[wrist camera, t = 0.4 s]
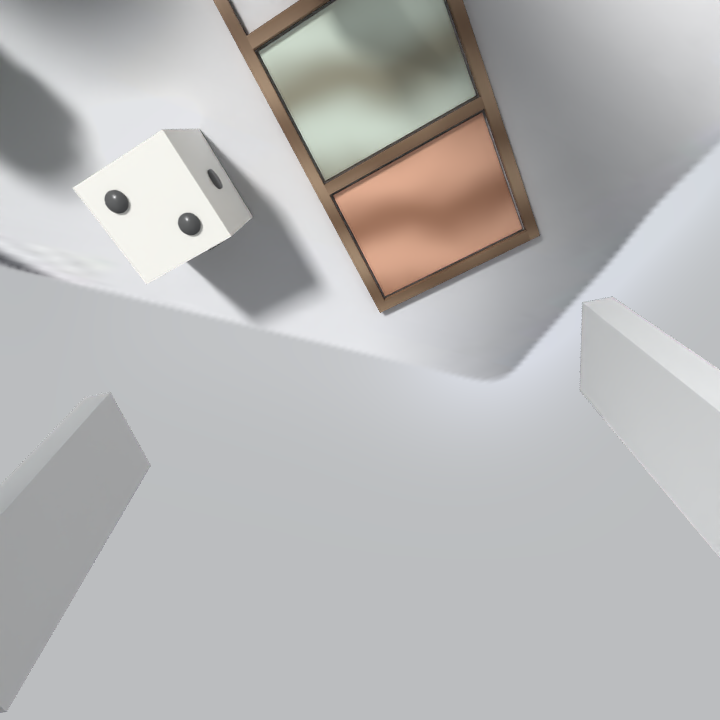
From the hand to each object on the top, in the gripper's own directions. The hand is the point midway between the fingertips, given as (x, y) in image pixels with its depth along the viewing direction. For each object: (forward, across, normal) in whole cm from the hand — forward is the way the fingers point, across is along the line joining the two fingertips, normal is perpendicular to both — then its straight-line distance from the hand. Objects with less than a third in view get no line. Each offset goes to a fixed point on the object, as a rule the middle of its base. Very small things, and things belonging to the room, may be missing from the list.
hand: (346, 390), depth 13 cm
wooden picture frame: (+26, +3, +9) cm, 28 cm away
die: (+26, -12, +4) cm, 29 cm away
